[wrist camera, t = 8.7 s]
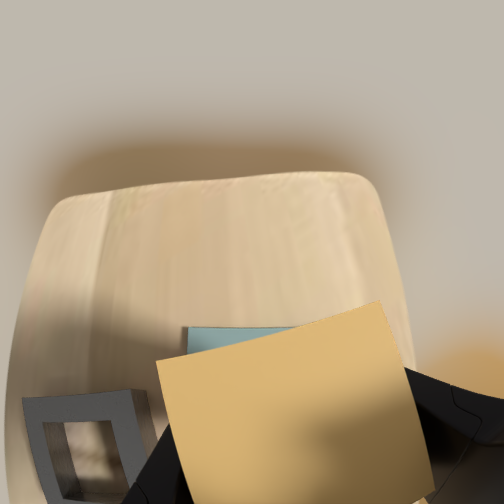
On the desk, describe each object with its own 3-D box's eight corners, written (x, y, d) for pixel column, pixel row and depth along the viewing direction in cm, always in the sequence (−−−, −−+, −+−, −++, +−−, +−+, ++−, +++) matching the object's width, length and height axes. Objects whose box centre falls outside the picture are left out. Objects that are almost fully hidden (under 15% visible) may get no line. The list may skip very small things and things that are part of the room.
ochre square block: (308, 358, 15) (379, 299, 6) (333, 442, 13) (435, 489, 4) (216, 383, 15) (156, 360, 6) (241, 469, 12) (218, 563, 4)
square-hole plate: (145, 390, 20) (130, 388, 17) (181, 513, 15) (171, 527, 13) (42, 400, 19) (21, 397, 16) (71, 508, 14) (52, 516, 11)
